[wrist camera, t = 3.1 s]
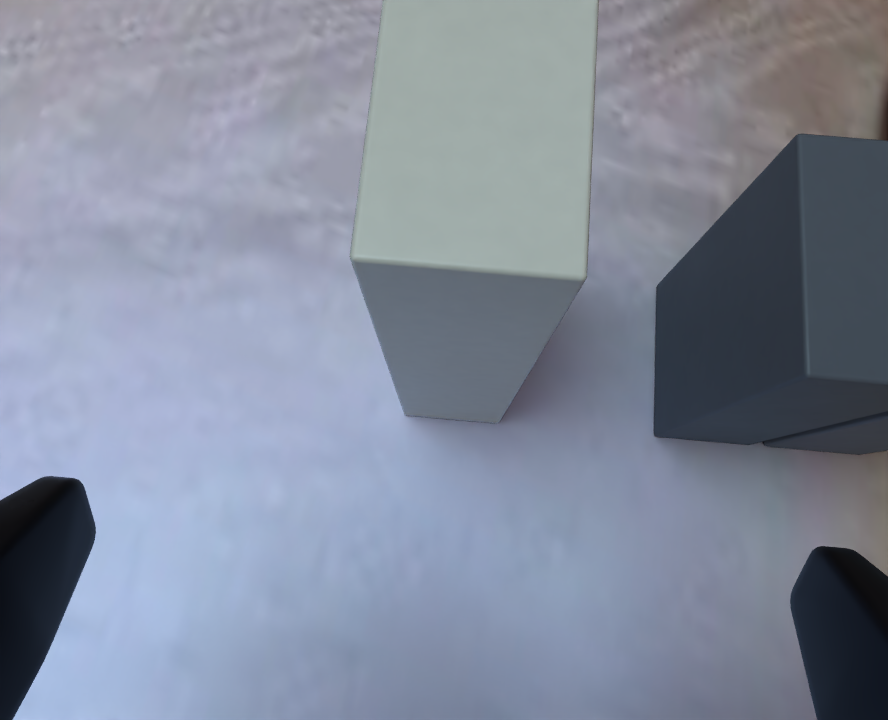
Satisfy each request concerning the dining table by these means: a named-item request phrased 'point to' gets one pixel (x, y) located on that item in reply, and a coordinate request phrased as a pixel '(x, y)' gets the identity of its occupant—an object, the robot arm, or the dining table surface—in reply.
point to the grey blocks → (784, 309)
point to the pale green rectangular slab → (474, 193)
